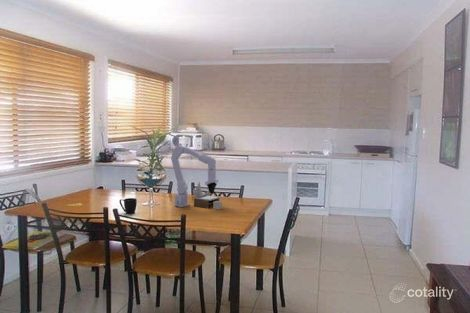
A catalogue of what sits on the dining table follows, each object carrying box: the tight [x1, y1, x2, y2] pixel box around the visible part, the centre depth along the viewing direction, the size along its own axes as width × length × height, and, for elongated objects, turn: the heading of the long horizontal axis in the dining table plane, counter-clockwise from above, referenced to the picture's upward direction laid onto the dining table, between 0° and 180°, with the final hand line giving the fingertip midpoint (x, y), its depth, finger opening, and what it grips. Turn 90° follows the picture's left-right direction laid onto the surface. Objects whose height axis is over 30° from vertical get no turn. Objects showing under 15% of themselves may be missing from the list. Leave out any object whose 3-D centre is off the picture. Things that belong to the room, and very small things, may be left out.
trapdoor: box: [196, 194, 220, 201], centre depth 300 cm, size 12×12×2 cm
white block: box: [212, 200, 223, 210], centre depth 290 cm, size 4×4×5 cm
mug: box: [118, 197, 138, 215], centre depth 272 cm, size 8×12×10 cm
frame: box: [193, 197, 220, 209], centre depth 300 cm, size 15×12×6 cm
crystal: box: [192, 181, 210, 199], centre depth 319 cm, size 10×13×15 cm
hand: (211, 193), depth 298 cm, fingers closed
